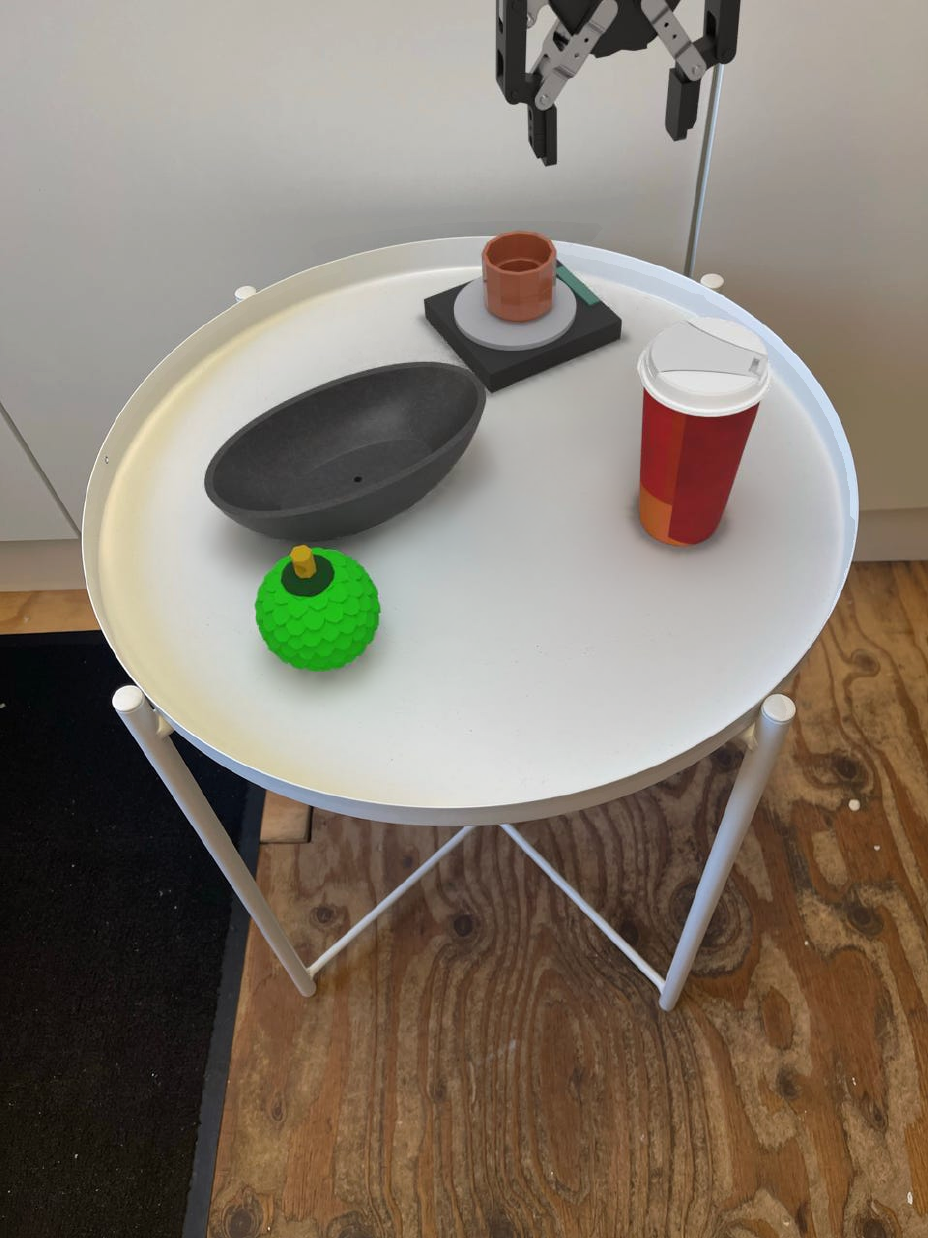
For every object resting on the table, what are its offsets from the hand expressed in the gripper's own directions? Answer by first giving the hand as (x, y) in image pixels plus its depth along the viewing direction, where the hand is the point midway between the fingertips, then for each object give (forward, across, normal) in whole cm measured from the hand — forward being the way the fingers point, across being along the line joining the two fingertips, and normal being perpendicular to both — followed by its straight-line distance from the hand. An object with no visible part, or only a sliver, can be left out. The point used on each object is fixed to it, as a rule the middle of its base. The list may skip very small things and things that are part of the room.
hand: (611, 147), depth 62 cm
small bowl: (+19, -4, +11) cm, 22 cm away
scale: (+21, -4, +11) cm, 25 cm away
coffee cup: (+22, +2, -13) cm, 26 cm away
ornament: (+22, -25, -18) cm, 38 cm away
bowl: (+21, -21, -4) cm, 30 cm away
